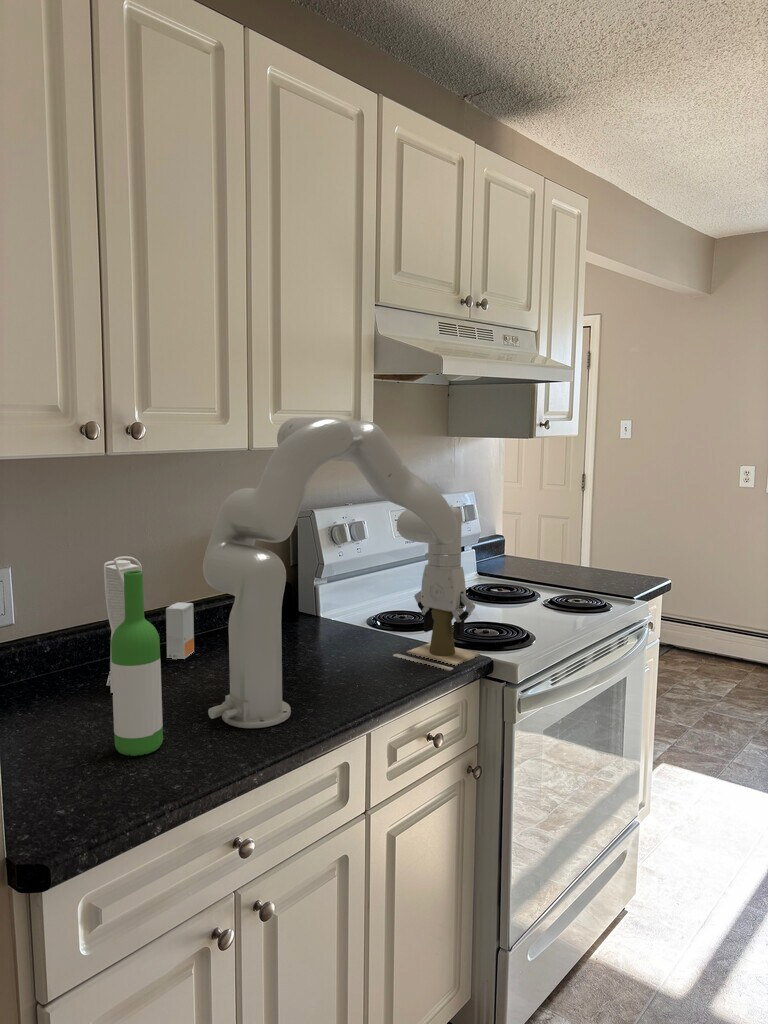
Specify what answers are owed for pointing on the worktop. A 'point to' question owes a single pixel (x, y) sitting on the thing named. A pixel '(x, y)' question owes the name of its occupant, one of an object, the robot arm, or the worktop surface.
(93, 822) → the worktop surface
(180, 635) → the skincare box
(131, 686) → the wine bottle
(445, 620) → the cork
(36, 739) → the worktop surface
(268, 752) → the worktop surface
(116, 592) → the skyscraper
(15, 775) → the worktop surface
